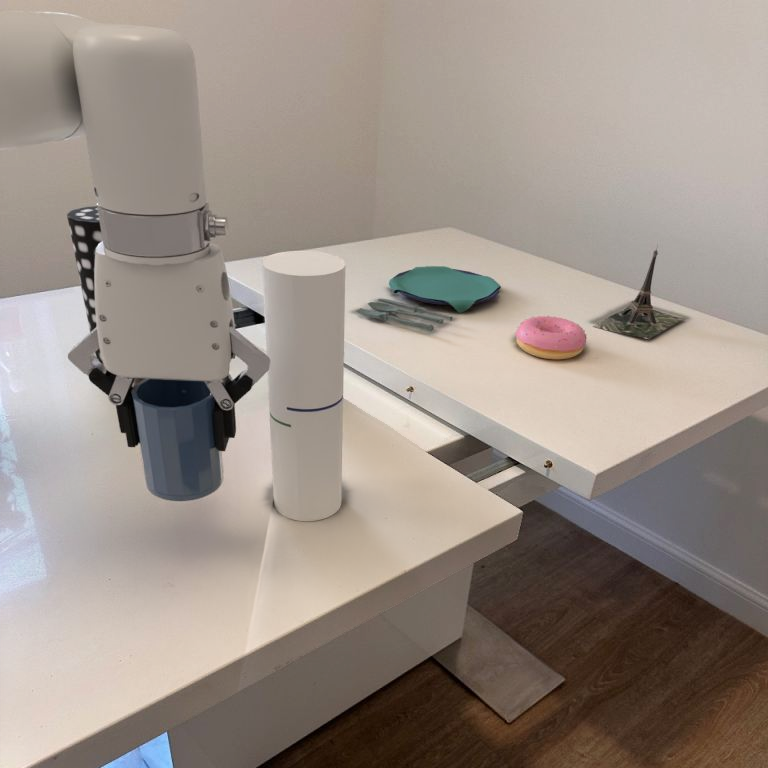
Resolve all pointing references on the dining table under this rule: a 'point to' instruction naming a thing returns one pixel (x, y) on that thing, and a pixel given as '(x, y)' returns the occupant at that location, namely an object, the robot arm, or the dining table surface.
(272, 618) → the dining table surface
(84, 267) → the white-spotted black cylinder
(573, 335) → the doughnut
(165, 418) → the mug
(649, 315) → the eiffel tower figurine
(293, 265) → the cylindrical container
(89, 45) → the robot arm
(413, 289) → the cutlery set
